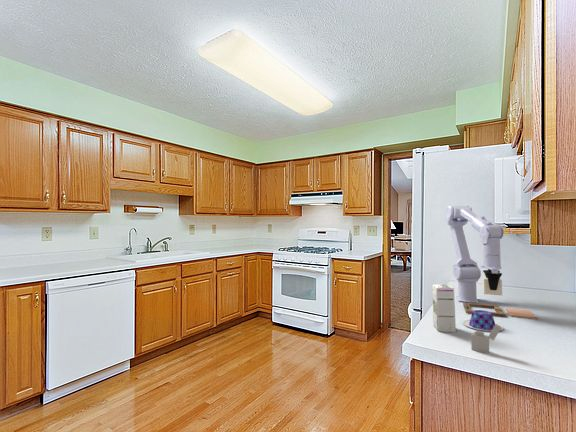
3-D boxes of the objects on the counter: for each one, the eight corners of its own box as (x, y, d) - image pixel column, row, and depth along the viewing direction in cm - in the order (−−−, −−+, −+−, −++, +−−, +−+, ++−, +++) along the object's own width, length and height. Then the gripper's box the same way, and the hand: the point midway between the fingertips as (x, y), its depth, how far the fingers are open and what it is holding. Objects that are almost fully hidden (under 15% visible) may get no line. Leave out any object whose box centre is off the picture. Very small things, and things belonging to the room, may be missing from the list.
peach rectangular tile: (505, 309, 128) (505, 308, 128) (529, 311, 125) (529, 310, 125) (511, 316, 119) (511, 314, 119) (537, 319, 116) (537, 317, 116)
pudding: (454, 323, 112) (454, 309, 112) (480, 320, 116) (479, 305, 116) (485, 335, 101) (485, 318, 101) (512, 330, 105) (512, 314, 105)
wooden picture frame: (463, 304, 136) (462, 300, 136) (498, 307, 131) (498, 303, 131) (466, 313, 124) (466, 309, 124) (505, 317, 118) (505, 312, 118)
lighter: (471, 349, 89) (470, 321, 89) (472, 347, 90) (471, 319, 90) (501, 355, 85) (501, 326, 85) (502, 353, 86) (501, 324, 86)
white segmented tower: (456, 332, 103) (455, 287, 103) (436, 331, 104) (436, 287, 104) (451, 326, 108) (450, 284, 109) (432, 325, 110) (431, 283, 110)
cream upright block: (483, 292, 128) (482, 277, 129) (500, 293, 126) (500, 278, 126) (484, 294, 126) (483, 279, 126) (502, 295, 123) (501, 280, 123)
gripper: (478, 253, 134) (478, 285, 134) (482, 256, 121) (483, 291, 121) (497, 253, 131) (498, 286, 131) (504, 257, 118) (505, 293, 118)
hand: (492, 289), depth 126 cm, fingers closed on cream upright block, 3 cm apart
